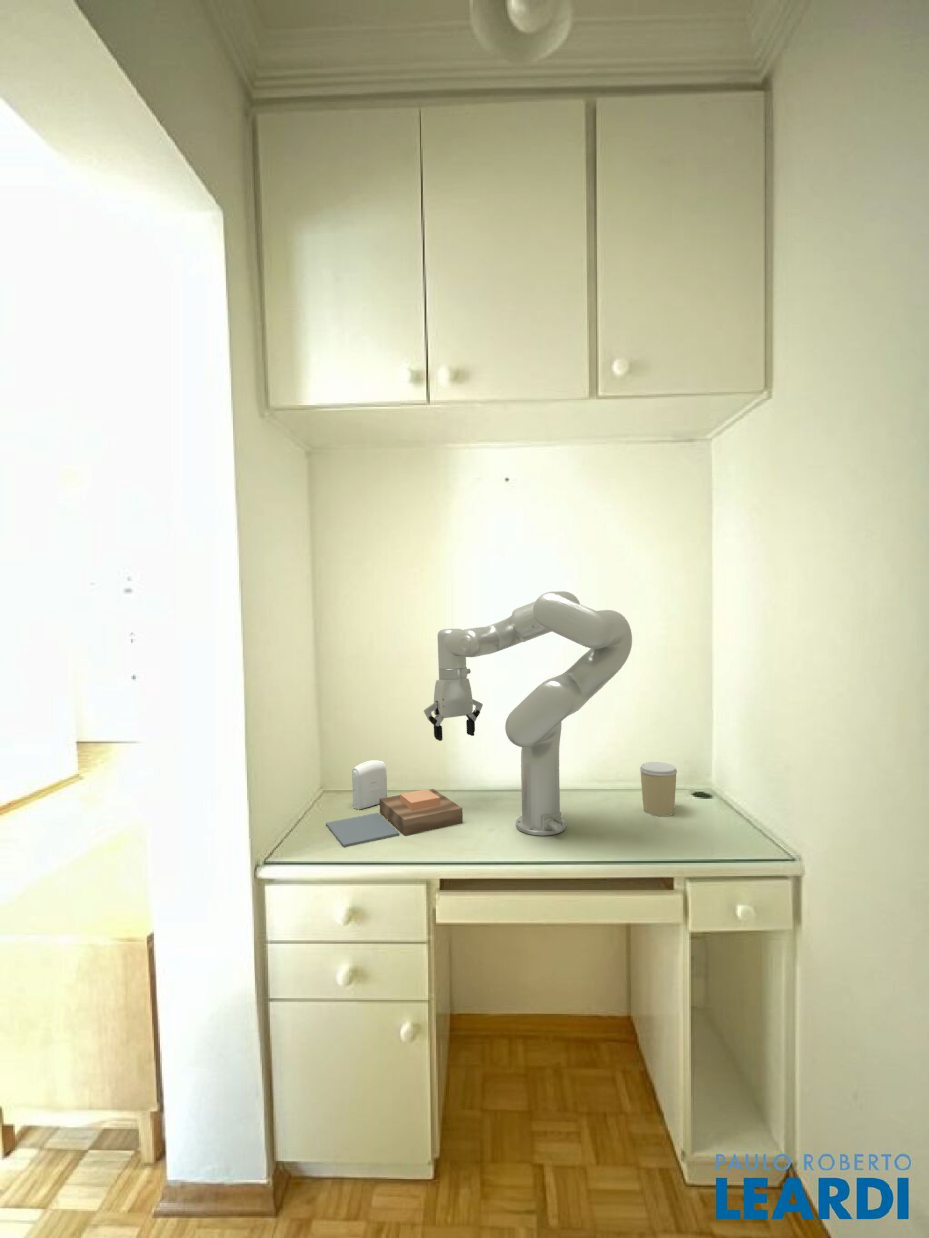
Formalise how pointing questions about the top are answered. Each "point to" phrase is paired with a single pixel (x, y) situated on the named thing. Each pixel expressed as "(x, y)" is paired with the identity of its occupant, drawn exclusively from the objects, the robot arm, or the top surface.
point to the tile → (419, 799)
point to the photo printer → (369, 783)
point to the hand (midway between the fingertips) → (454, 737)
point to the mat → (361, 829)
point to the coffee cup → (658, 788)
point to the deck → (421, 815)
